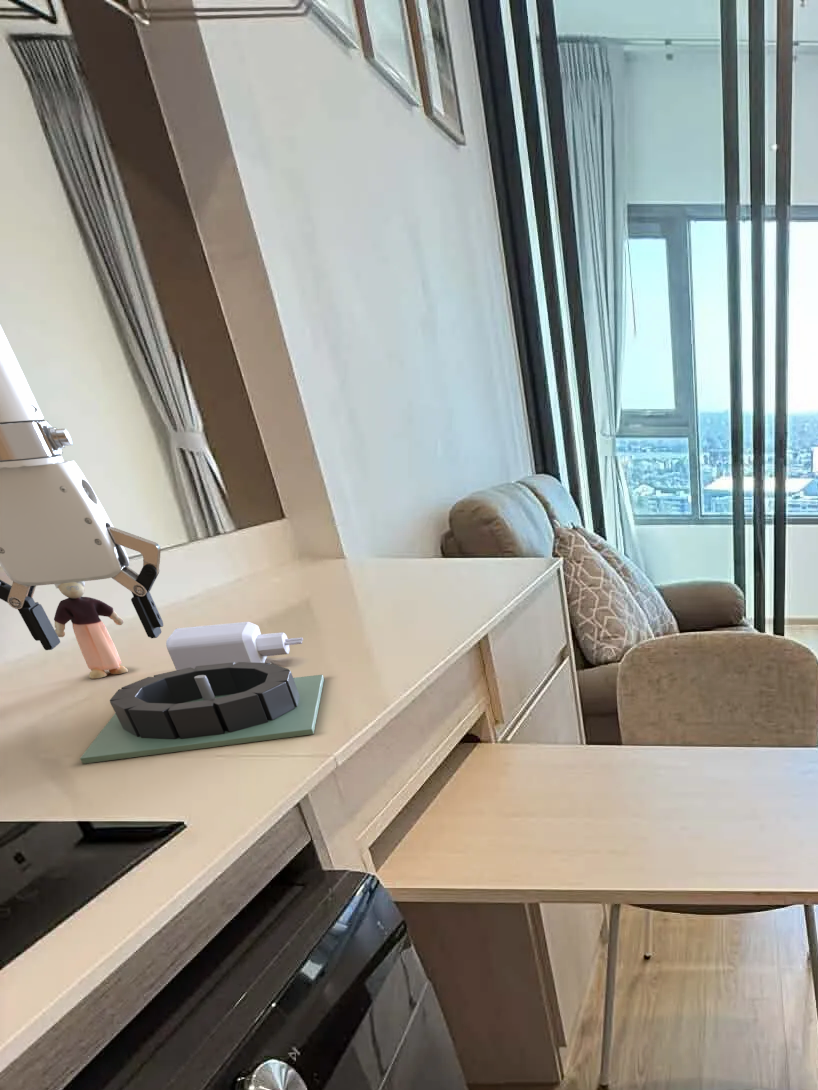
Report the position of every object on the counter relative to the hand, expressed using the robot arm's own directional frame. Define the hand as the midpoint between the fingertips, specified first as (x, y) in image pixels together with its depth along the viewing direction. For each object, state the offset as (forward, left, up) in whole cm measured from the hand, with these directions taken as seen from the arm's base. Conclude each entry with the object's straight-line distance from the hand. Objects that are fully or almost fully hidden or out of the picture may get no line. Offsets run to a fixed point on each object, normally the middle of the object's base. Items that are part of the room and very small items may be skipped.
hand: (105, 641), depth 90 cm
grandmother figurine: (-9, +26, -9) cm, 29 cm away
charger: (+8, +22, -9) cm, 25 cm away
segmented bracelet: (+7, 0, -8) cm, 11 cm away
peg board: (+7, 0, -9) cm, 12 cm away
